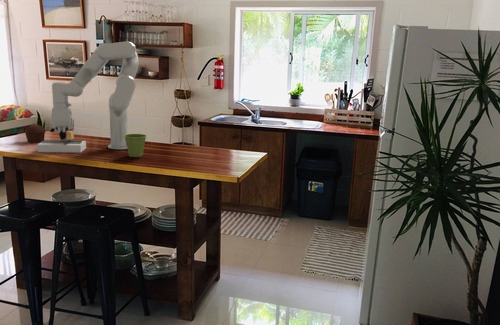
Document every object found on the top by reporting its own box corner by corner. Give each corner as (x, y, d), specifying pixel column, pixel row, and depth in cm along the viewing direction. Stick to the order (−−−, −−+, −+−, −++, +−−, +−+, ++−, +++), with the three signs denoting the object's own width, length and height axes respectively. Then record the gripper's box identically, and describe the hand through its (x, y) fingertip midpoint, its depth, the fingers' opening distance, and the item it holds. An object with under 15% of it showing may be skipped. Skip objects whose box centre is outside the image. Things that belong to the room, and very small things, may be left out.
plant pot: (151, 155, 229) (151, 135, 226) (135, 159, 219) (135, 138, 216) (135, 152, 235) (135, 132, 232) (119, 156, 225) (118, 135, 222)
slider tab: (73, 141, 235) (73, 131, 234) (71, 143, 231) (71, 132, 230) (69, 141, 235) (68, 130, 234) (67, 143, 231) (66, 132, 229)
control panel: (86, 147, 241) (85, 139, 240) (80, 152, 229) (80, 143, 228) (45, 147, 238) (44, 138, 237) (37, 151, 226) (37, 143, 225)
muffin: (20, 143, 246) (19, 126, 244) (33, 139, 257) (32, 123, 254) (38, 144, 244) (37, 127, 242) (50, 141, 255) (49, 124, 252)
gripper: (77, 105, 232) (79, 138, 237) (48, 104, 230) (50, 137, 235) (73, 106, 225) (75, 140, 229) (43, 106, 223) (46, 140, 227)
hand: (63, 139), depth 232 cm, fingers closed
